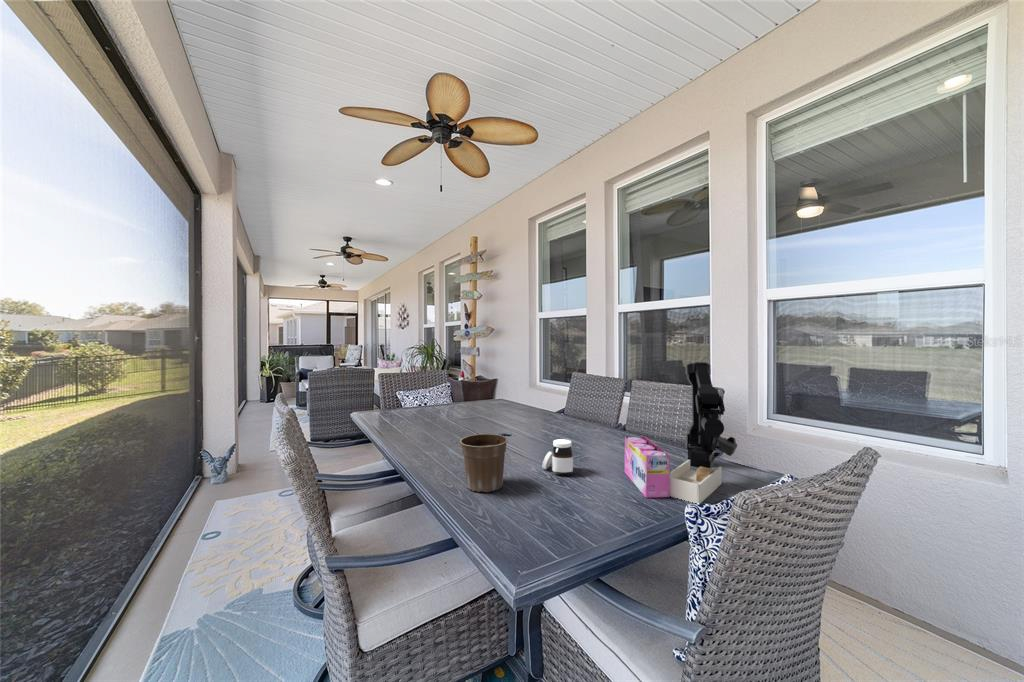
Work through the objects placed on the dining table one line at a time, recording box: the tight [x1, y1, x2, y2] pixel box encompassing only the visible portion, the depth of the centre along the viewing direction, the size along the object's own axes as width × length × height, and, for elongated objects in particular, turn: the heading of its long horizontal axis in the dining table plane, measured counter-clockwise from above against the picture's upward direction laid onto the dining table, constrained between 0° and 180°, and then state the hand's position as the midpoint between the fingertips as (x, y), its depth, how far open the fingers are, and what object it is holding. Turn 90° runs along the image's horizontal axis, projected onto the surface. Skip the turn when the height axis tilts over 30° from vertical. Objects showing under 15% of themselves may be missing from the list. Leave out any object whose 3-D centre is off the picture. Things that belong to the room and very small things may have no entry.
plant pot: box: [459, 433, 508, 493], centre depth 139 cm, size 16×16×16 cm
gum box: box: [624, 435, 671, 498], centre depth 140 cm, size 24×8×14 cm, turn 2°
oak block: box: [695, 466, 714, 482], centre depth 135 cm, size 4×4×4 cm
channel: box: [669, 459, 723, 504], centre depth 135 cm, size 11×22×6 cm, turn 137°
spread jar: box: [541, 438, 574, 477], centre depth 152 cm, size 12×11×12 cm
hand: (708, 474), depth 138 cm, fingers closed
